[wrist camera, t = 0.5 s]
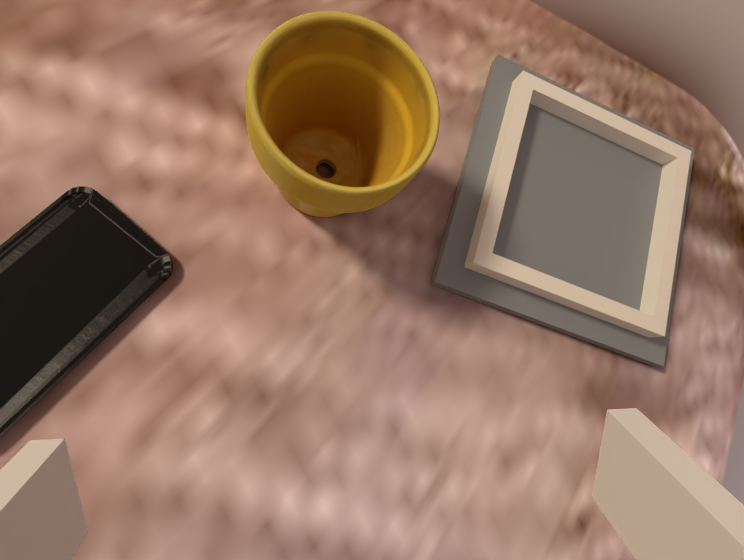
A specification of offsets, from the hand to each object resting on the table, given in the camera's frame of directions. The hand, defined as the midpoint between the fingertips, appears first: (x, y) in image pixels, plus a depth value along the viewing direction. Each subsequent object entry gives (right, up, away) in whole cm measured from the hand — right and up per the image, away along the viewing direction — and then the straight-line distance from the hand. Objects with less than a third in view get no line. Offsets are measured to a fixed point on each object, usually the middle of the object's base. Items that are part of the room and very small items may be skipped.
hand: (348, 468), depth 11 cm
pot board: (+17, +10, +26) cm, 33 cm away
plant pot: (-3, +12, +22) cm, 25 cm away
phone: (-20, +3, +16) cm, 25 cm away
